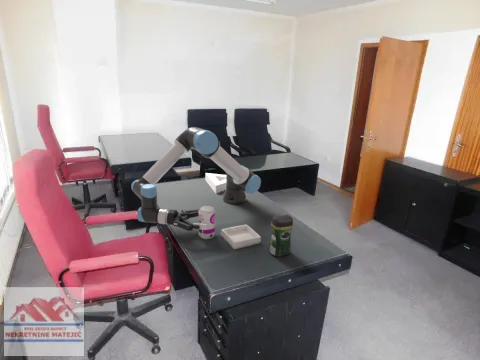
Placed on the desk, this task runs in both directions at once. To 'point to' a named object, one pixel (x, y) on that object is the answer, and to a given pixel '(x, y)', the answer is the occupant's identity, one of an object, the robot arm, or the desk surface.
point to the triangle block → (216, 182)
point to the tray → (240, 236)
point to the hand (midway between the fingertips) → (210, 221)
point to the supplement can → (207, 221)
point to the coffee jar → (281, 235)
